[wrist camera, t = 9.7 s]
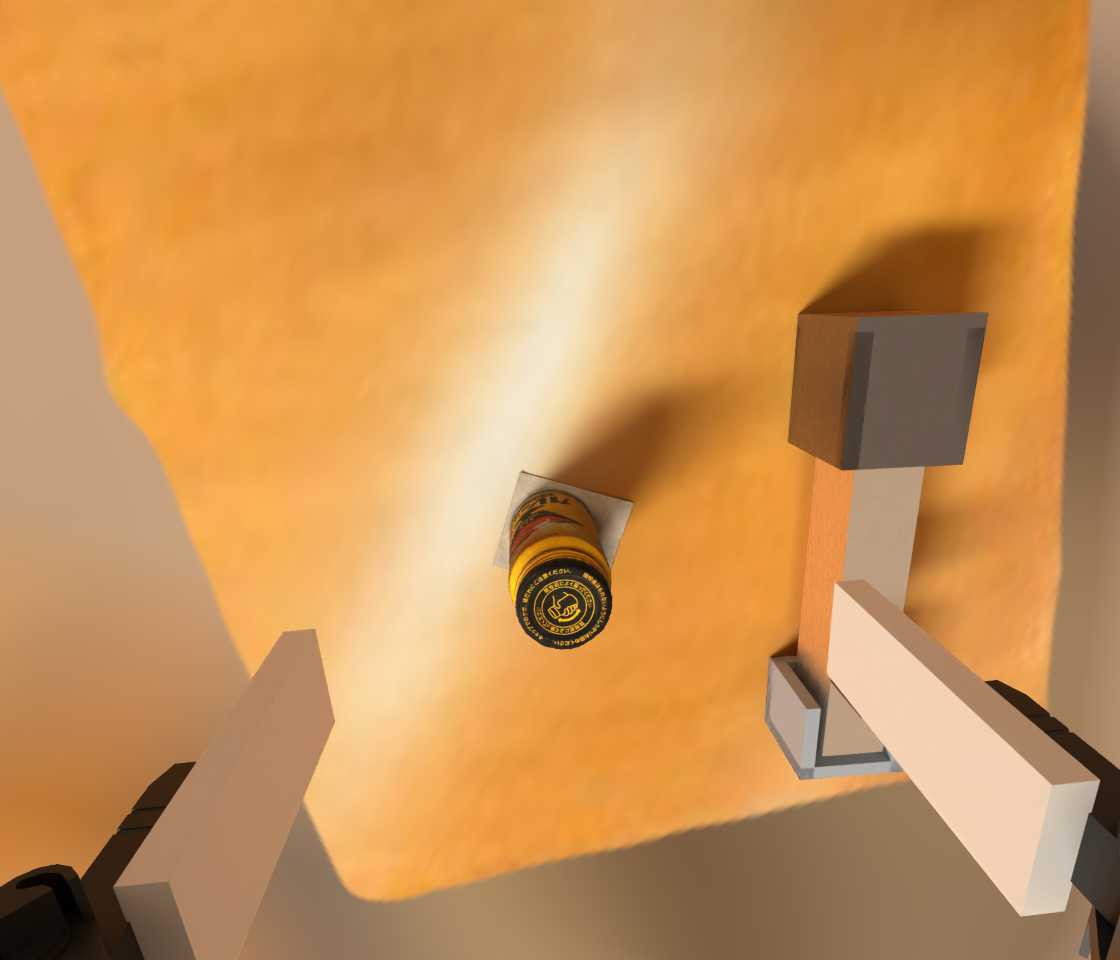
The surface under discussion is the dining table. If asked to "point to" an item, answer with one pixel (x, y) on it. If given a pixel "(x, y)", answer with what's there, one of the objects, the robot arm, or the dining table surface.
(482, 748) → the dining table surface
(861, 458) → the sleeve
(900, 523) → the light gray bar
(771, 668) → the socket
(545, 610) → the yellow drink bottle
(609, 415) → the dining table surface
